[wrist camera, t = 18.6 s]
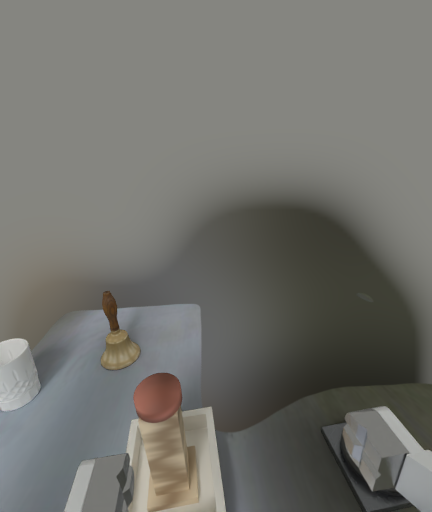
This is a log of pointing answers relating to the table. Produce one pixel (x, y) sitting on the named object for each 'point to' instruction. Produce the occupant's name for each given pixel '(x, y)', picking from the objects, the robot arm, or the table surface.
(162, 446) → the beige red tall post
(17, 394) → the white cup
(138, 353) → the hand bell
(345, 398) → the table surface
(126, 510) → the robot arm
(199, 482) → the tray
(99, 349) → the table surface
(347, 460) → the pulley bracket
